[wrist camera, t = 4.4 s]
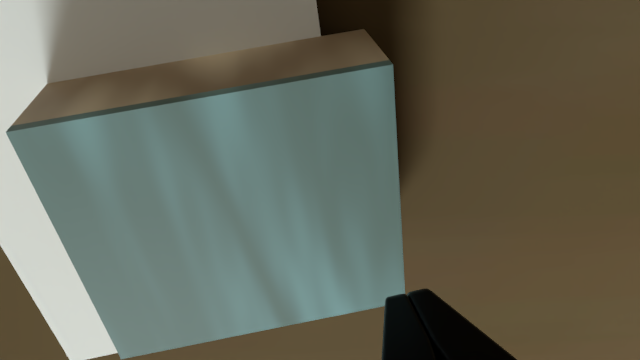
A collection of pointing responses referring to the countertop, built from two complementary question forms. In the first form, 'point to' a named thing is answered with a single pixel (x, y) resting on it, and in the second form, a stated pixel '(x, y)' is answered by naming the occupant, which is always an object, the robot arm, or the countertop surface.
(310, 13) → the flat white panel
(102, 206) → the beige and teal box
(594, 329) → the countertop surface
